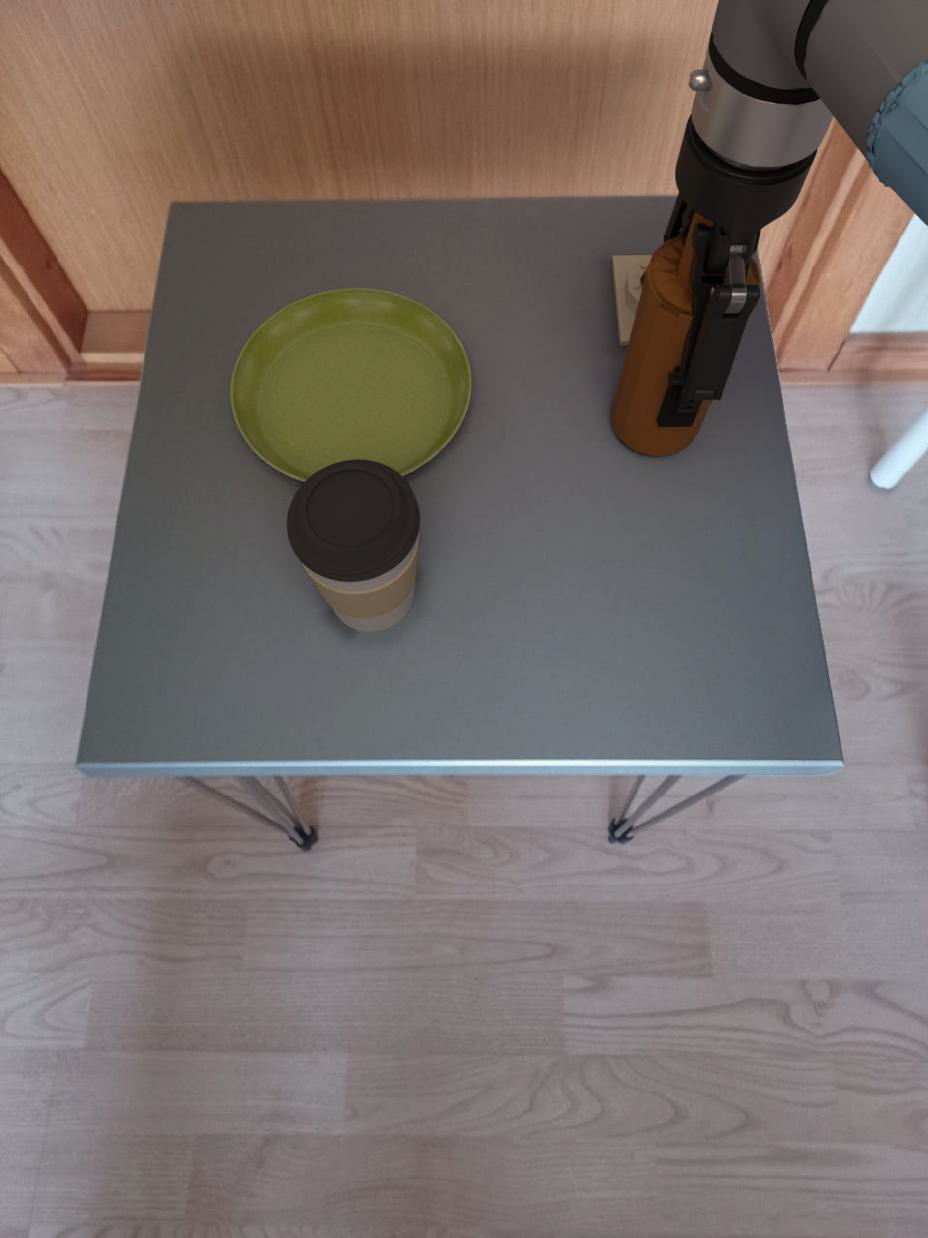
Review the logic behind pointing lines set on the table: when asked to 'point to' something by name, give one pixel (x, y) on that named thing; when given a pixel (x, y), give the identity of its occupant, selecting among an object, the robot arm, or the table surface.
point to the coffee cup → (358, 541)
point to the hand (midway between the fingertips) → (669, 378)
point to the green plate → (350, 383)
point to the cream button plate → (628, 290)
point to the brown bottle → (660, 350)
